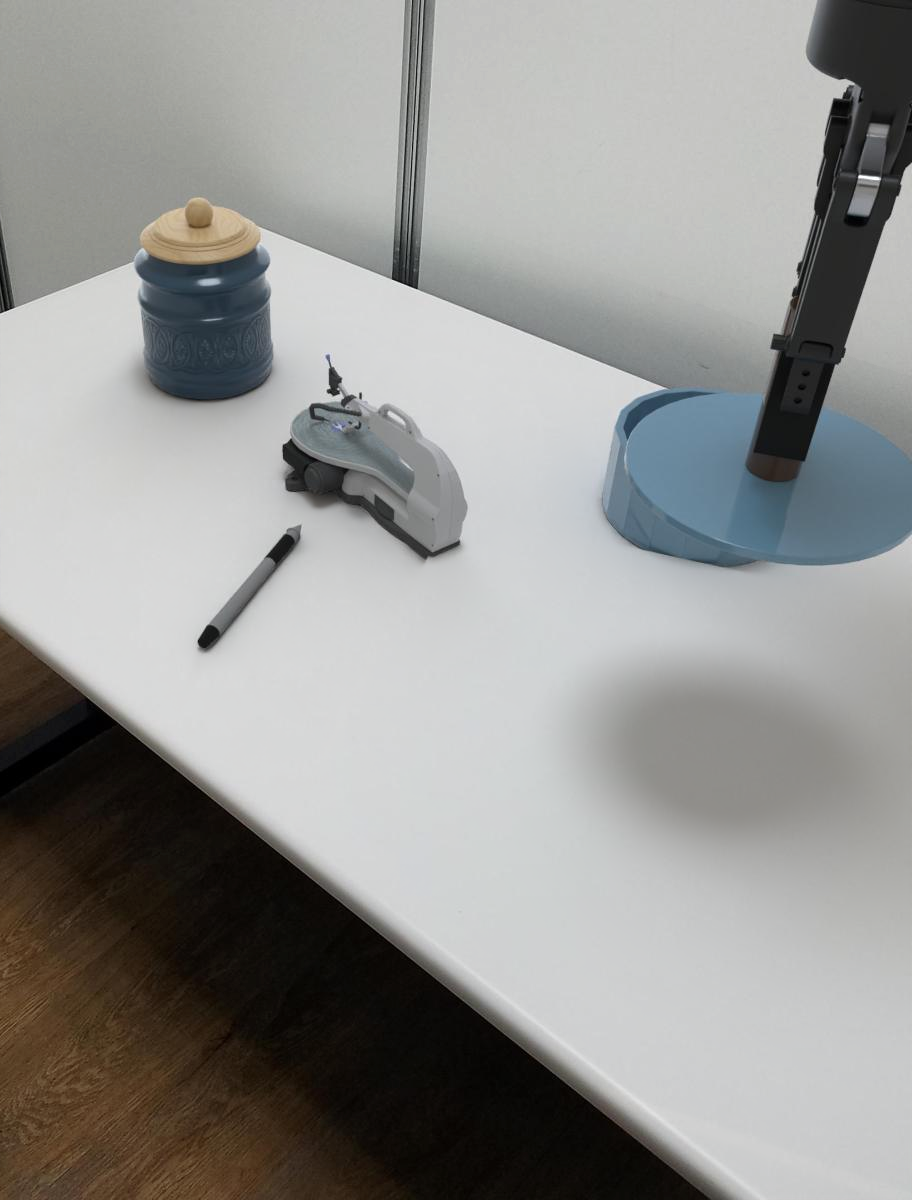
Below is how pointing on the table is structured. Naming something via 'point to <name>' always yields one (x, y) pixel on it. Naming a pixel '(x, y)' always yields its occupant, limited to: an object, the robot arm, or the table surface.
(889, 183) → the robot arm
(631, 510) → the bowl
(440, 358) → the table surface
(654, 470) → the bowl lid
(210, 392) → the canister
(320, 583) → the table surface
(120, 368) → the table surface
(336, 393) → the scroll saw
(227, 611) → the pen
